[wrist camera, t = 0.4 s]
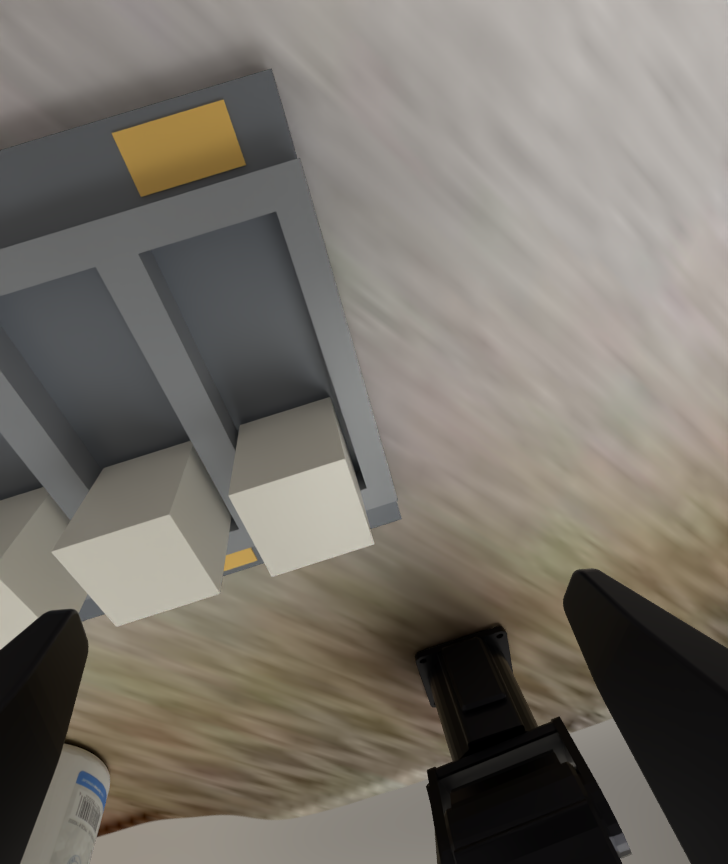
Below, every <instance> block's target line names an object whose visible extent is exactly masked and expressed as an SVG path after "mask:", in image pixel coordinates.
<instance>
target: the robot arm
mask: <svg viewBox="0 0 728 864" xmlns="http://www.w3.org/2000/svg"><path fill="white" fill-rule="evenodd" d="M563 607H564V611H565V614H566V616H567V618H568V621H569V623H570V625H571V628H572V630H573V632H574V635H575V637H576V640H577V642H578V644H579V647H580V649H581V651H582V654H583V656H584V658H585V661H586V663H587V665H588V668H589V670H590V673H591V675H592V677H593V679H594V681H595V684H596V686H597V688H598V690H599V692H600V694H601V696H602V698H603V700H604V702H605V704H606V706H607V708H608V709H609V711H610V713H611V715H612V717H613V719H614V721H615V722H616V724H617V726H618V728H619V730H620V732H621V734H622V736H623V737H624V739H625V741H626V743H627V745H628V747H629V749H630V750H631V752H632V754H633V756H634V758H635V760H636V762H637V763H638V766H639V767H640V769H641V771H642V773H643V775H644V777H645V779H646V780H647V782H648V784H649V786H650V788H651V790H652V792H653V794H654V795H655V797H656V799H657V801H658V803H659V805H660V807H661V809H662V810H663V812H664V814H665V816H666V818H667V820H668V822H669V824H670V825H671V827H672V829H673V831H674V833H675V834H676V837H677V838H678V840H679V842H680V844H681V846H682V848H683V849H684V852H685V853H686V855H687V857H688V859H689V861H690V863H691V864H728V648H726V647H724V646H723V645H721V644H720V643H718V642H716V641H715V640H713V639H711V638H710V637H708V636H706V635H705V634H703V633H701V632H700V631H698V630H697V629H695V628H693V627H692V626H690V625H688V624H687V623H685V622H683V621H682V620H680V619H678V618H677V617H675V616H674V615H672V614H670V613H669V612H667V611H665V610H664V609H662V608H660V607H659V606H657V605H656V604H654V603H652V602H651V601H649V600H647V599H646V598H644V597H642V596H641V595H639V594H637V593H636V592H634V591H633V590H631V589H629V588H628V587H626V586H624V585H623V584H621V583H619V582H618V581H616V580H614V579H613V578H611V577H610V576H608V575H606V574H605V573H603V572H601V571H600V570H597V569H579V570H576V571H575V572H574V573H573V574H572V577H571V579H570V582H569V585H568V587H567V590H566V593H565V595H564V599H563ZM87 655H88V640H87V637H86V634H85V631H84V628H83V624H82V621H81V618H80V615H79V613H78V612H77V611H76V610H75V609H60V610H50V611H47V612H46V613H44V614H42V615H41V616H40V617H39V618H37V619H36V620H35V621H34V622H33V623H32V624H30V625H29V626H28V627H27V628H26V629H24V630H23V631H22V632H21V633H20V634H18V635H17V636H16V637H15V638H14V639H13V640H11V641H10V642H9V643H8V644H7V645H5V646H4V647H3V648H2V649H1V650H0V864H20V863H21V861H22V858H23V855H24V853H25V850H26V847H27V845H28V842H29V839H30V837H31V834H32V831H33V829H34V826H35V823H36V821H37V818H38V815H39V813H40V810H41V807H42V805H43V802H44V800H45V797H46V794H47V792H48V789H49V786H50V784H51V781H52V778H53V776H54V773H55V770H56V767H57V764H58V761H59V759H60V755H61V752H62V749H63V745H64V742H65V738H66V734H67V731H68V727H69V723H70V719H71V716H72V712H73V708H74V704H75V701H76V697H77V693H78V689H79V686H80V682H81V678H82V674H83V671H84V667H85V663H86V659H87ZM415 661H416V664H417V667H418V670H419V673H420V676H421V679H422V682H423V684H424V687H425V690H426V693H427V696H428V699H429V702H430V705H431V706H432V707H436V708H437V711H438V715H439V718H440V721H441V724H442V728H443V731H444V734H445V738H446V741H447V744H448V748H449V751H450V754H451V758H452V761H453V762H450V763H448V764H445V765H443V766H440V767H438V768H436V767H433V768H430V769H428V770H427V774H428V780H429V783H428V784H427V786H426V788H427V792H428V796H429V800H430V804H431V809H432V815H433V821H434V826H435V840H436V853H437V864H622V862H621V860H620V858H624V857H627V856H629V855H631V854H632V853H631V851H630V848H629V846H628V843H627V841H626V839H625V837H624V834H623V832H622V830H621V828H620V826H619V824H618V822H617V820H616V818H615V816H614V814H613V812H612V810H611V808H610V806H609V804H608V802H607V801H606V799H605V797H604V795H603V793H602V791H601V789H600V788H599V786H598V784H597V782H596V780H595V778H594V777H593V775H592V773H591V771H590V769H589V768H588V766H587V764H586V762H585V761H584V759H583V757H582V755H581V754H580V752H579V750H578V748H577V746H576V745H575V743H574V741H573V739H572V738H571V736H570V734H569V732H568V731H567V729H566V727H565V725H564V723H563V722H562V720H561V718H560V717H556V718H554V719H551V722H549V723H546V724H544V725H541V726H539V727H538V725H537V723H536V721H535V719H534V717H533V715H532V712H531V710H530V708H529V706H528V704H527V702H526V700H525V698H524V696H523V694H522V692H521V690H520V687H519V685H518V683H517V681H516V679H515V677H514V675H513V670H512V664H511V657H510V651H509V644H508V638H507V633H506V631H505V629H504V627H502V626H498V627H494V628H491V629H488V630H485V631H482V632H479V633H476V634H473V635H470V636H466V637H463V638H460V639H457V640H454V641H451V642H448V643H445V644H442V645H439V646H436V647H433V648H430V649H426V650H423V651H420V652H418V653H417V654H416V655H415Z"/></svg>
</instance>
